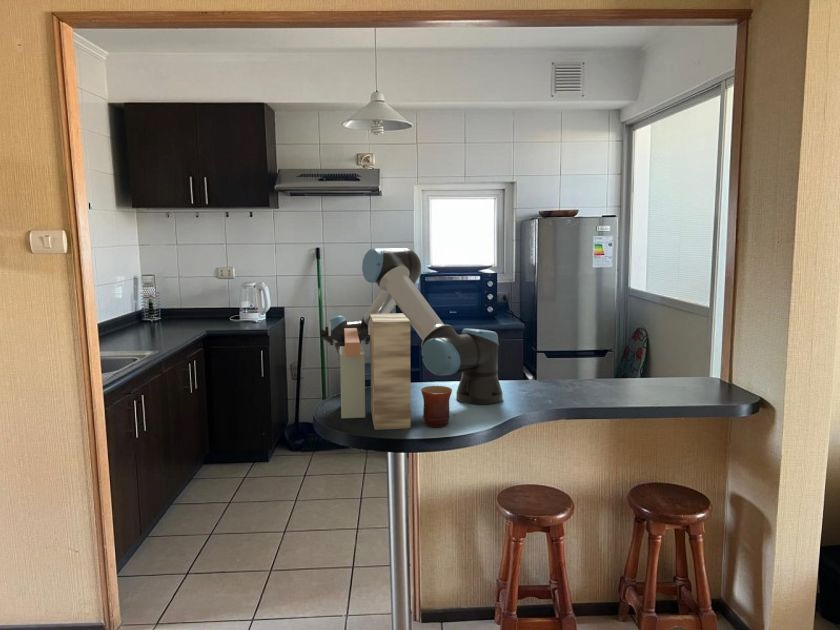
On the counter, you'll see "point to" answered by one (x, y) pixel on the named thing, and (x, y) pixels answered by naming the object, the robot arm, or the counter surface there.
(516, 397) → the counter surface
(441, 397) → the mug
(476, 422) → the counter surface
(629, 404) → the counter surface
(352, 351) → the batten
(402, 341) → the stand
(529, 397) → the counter surface
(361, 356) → the post low
